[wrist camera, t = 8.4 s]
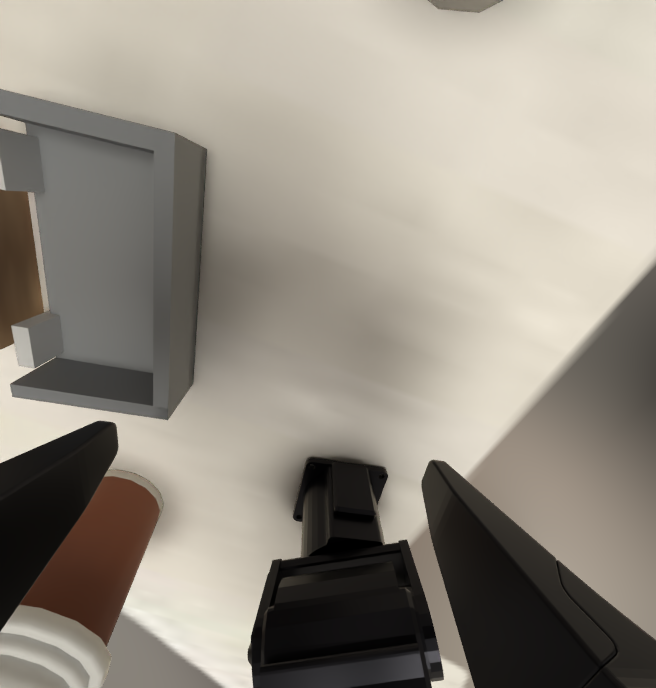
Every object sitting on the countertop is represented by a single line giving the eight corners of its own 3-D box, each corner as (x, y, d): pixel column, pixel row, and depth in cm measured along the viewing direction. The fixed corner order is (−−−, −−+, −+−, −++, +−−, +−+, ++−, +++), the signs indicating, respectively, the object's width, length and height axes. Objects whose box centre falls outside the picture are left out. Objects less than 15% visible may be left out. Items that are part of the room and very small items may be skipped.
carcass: (192, 383, 22) (167, 419, 18) (-10, 350, 20) (-83, 382, 16) (206, 149, 16) (175, 132, 12) (-69, 81, 15) (-197, 39, 11)
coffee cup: (179, 462, 24) (65, 675, 13) (181, 541, 28) (93, 761, 17) (51, 449, 23) (-184, 666, 12) (70, 533, 27) (-100, 760, 16)
